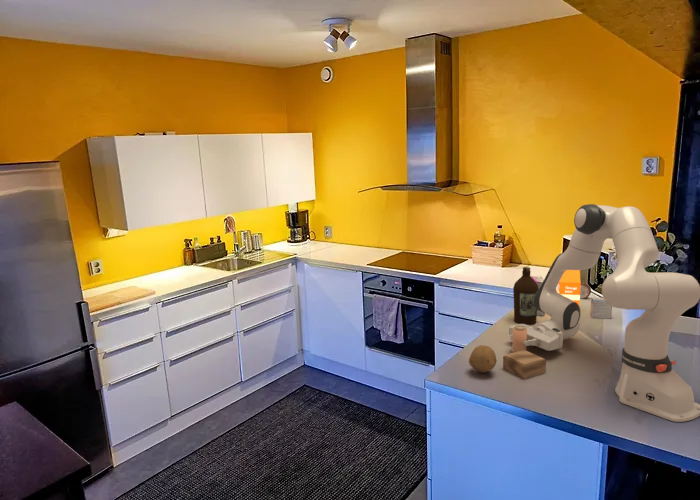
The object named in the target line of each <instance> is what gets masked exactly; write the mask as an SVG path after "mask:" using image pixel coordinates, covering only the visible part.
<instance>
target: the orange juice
mask: <svg viewBox="0 0 700 500" xmlns="http://www.w3.org/2000/svg"><path fill="white" fill-rule="evenodd" d="M580 282H581V270H567V271H565V272H564V274H563V275H562V277H561V279H560V281H559V283H558V285H557V292H558V293H559V294H561V295H563V296H565V297H567V298H569V299H571V300H572V301H574V302H576V303H577V304H578V305H579V306H580V303H581V302H580V300H581V299H580V284H581V283H580Z"/></svg>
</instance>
